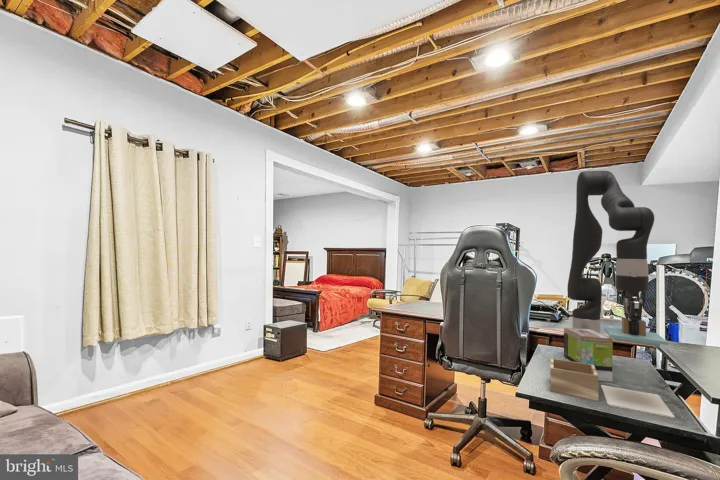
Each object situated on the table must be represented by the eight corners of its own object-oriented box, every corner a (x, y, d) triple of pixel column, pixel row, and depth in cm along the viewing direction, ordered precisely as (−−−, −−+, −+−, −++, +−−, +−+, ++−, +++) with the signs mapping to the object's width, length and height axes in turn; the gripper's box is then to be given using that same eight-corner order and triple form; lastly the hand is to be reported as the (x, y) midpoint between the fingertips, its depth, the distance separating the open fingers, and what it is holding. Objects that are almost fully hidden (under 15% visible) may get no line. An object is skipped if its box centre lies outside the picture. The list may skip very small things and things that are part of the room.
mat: (601, 386, 107) (601, 384, 107) (658, 396, 100) (658, 394, 100) (608, 405, 93) (607, 403, 93) (674, 418, 86) (674, 416, 86)
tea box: (614, 382, 111) (613, 337, 111) (580, 379, 113) (580, 335, 113) (592, 367, 125) (591, 328, 126) (562, 365, 127) (562, 326, 128)
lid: (604, 332, 106) (604, 314, 106) (656, 338, 100) (656, 319, 100) (609, 340, 95) (610, 320, 95) (668, 348, 89) (668, 327, 89)
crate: (551, 379, 112) (550, 358, 113) (594, 386, 106) (593, 364, 107) (550, 391, 102) (550, 368, 102) (598, 400, 96) (598, 376, 96)
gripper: (612, 273, 106) (613, 327, 105) (619, 274, 94) (620, 336, 93) (642, 274, 102) (643, 330, 102) (654, 276, 90) (655, 340, 90)
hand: (632, 333), depth 97 cm, fingers closed on lid, 3 cm apart
